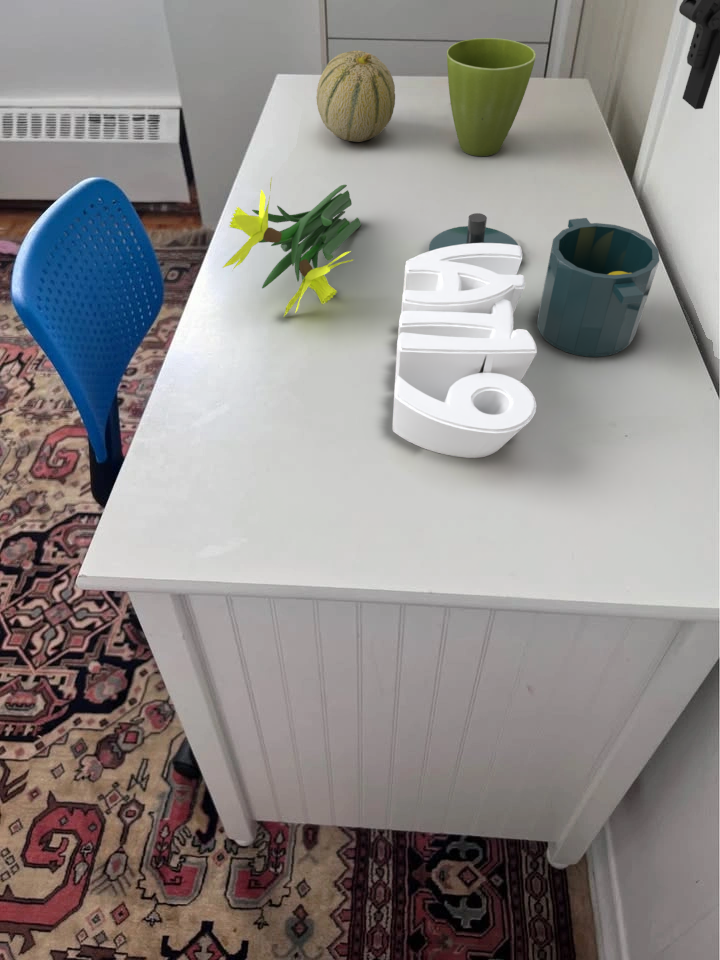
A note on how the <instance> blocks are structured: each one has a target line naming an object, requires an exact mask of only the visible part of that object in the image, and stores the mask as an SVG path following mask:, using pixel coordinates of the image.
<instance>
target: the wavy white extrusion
mask: <svg viewBox="0 0 720 960" xmlns="http://www.w3.org/2000/svg"><path fill="white" fill-rule="evenodd" d="M522 261H523V249H522V246H520V245H519V244H518V245H511V244H501V243H471V244H460V245H453V246H448V247H443V248H439V249H435V250H432V251H429V250H428V251H426V252H423V253H420V254H417V255H416V256H414V257H411V258H409V259H407V260H405V266H404V279H403V288H402V289H403V290H402V296H401V308H400V309H401V311H400V314H399V315H400V316H399V318H398V330H397V341H396V355H395V356H396V357H395V358H396V359H395V374H394V375H395V376H394V392H393V394H394V395H393V411H392V432H393V433H394V434H396V435H397V436H399V437H400V438H402V439H404V440H405V441H407V442H409V443H411V444H413V445H415V446H417V447H420V448H422V449H425V450H426V451H427V450H428V451H430V452H433V453H438V454H442V455H447V456H450V457H457V458H465V459H466V458H467V459H479V458H484V457H488V456H491V455H493V454H495V453H497V452H498V451H499V450H500V449H501V448H502V447H504V446H505V445H506V444H507V443H508V442H509V441H510V440H511V439H512V438H514V436H516V435H517V434H518V433H519V432H520V431H521V430H522V429H523V428H524V427H525V426H527V425H528V424H529V423H530V421H531V420H532V419H533V418H534V416H535V414H536V412H537V402H536V398H535V395H534V394H533V392H532V391H531V390H530V389H529V387H527V386H526V385H525V384H524V383H522V380H523V379H524V377H525V375H526V373H527V372H528V370H529V368H530V366H531V364H532V362H533V361H534V359H535V357H536V356H537V353H538V348H537V344H536V341H535V340H534V338H533V336H532V334H530V332H529V331H528V330H527V329H523V328H516V329H514V313H515V311H516V310H517V307H518V303H519V301H520V299H521V297H522V294H523V293H524V289H525V287H526V278H525V276H524V275H523V274H518V272H519V269H520V267H521V263H522Z"/></svg>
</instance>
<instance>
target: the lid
mask: <svg viewBox="0 0 720 960" xmlns="http://www.w3.org/2000/svg"><path fill="white" fill-rule="evenodd" d="M487 221H488V217H487V215H486V214H484V213H478V212H477V213H471V214H470V215H469V216H468V221H467V225H465V226H457V227H452V228H449V229H446V230H443V231H442V232H439V233H438V234H436V235H435V236H434V237H433V238H432V239H431V241H430V242H429V245H428V251H432V250H435V249H439V248H443V247H448V246H453V245H460V244H471V243H501V244H511V245H519V244H518V242H517V241H516V240H515V239H514V238H513V237H512V236H510V235H509V234H507V233H505V232H503V231H501V230H498V229H495V228H490V227H487Z"/></svg>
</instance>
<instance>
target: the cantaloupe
mask: <svg viewBox="0 0 720 960" xmlns="http://www.w3.org/2000/svg"><path fill="white" fill-rule="evenodd" d="M395 91H396V85H395V82H394V78H393V75H392V74H391V71H390V70H389V68H388V67H387V65H386V64H385V63H384V62H382V61H381V60H380V59H379V58H378V57H377V56H376V55H374V54H372V53H370V52H366V51H364V50H350V51H345V52H342V53H339V54H337V55H336V56H334V57H333V58H331V60H329V62H328V63H327V65H326V66H325V68H324V70H323V71H322V74H321V76H320V78H319V80H318V83H317V87H316V97H315V98H316V99H315V100H316V106H317V112H318V113H319V116H320V120H321V122H322V123H323V124H324V126H325V128H326V129H327V130H329V131H330V132H331V133H332V134H333V135H334V136H335V137H337V138H338V139H341V140H344V141H348V142H354V143H362V142H366V141H370V140H371V139H374V138H375V137H377V136H378V135H380V134H381V133H382V132H383V131H384V130H385V129H386V128H387V126H388V125H389V123H390V122H391V119H392V117H393V114H394V109H395V105H396V92H395Z"/></svg>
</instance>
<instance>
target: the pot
mask: <svg viewBox="0 0 720 960" xmlns="http://www.w3.org/2000/svg"><path fill="white" fill-rule="evenodd" d="M659 264H660V250H659V249H658V247H657V246H656V245H655V243H654V242H653V241H652V240H651V239H650V238H649V237H646V236H645V235H643V234H641V233H640V232H638V231H636V230H634V229H631V228H628V227H624V226H620V225H616V224H609V223H600V222H592V223H591V221H590V220H589V219H588V218H587V217H582V218H571V219H569V220H568V223H567V228H565V229H562V230H561V231H560V232H559V233H558V234H556V236H555V237H554V238H553V239H552V243H551V248H550V252H549V258H548V264H547V268H546V274H545V278H544V283H543V289H542V294H541V298H540V304H539V308H538V309H539V310H538V315H537V322H536V323H537V329H538V332H539V334H540V335H541V337H542V338H543V339H544V340H545V341H546V342H547V343H548V344H550V345H551V346H553V347H555V348H556V349H558V350H560V351H563V352H565V353H568V354H571V355H575V356H581V357H589V358H590V357H592V358H598V357H600V358H601V357H609V356H613V355H615V354H617V353H620V352H623V350H625V349H627V348H628V347H629V346H630V344H632V342H633V340H634V338H635V336H636V334H637V331H638V327H639V325H640V323H641V319H642V316H643V313H644V310H645V306H646V303H647V300H648V297H649V294H650V290H651V287H652V285H653V281H654V278H655V276H656V272H657V270H658V266H659ZM615 271H624V272H627V273H629V274H620V275H608V274H609V273H611V272H615Z"/></svg>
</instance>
